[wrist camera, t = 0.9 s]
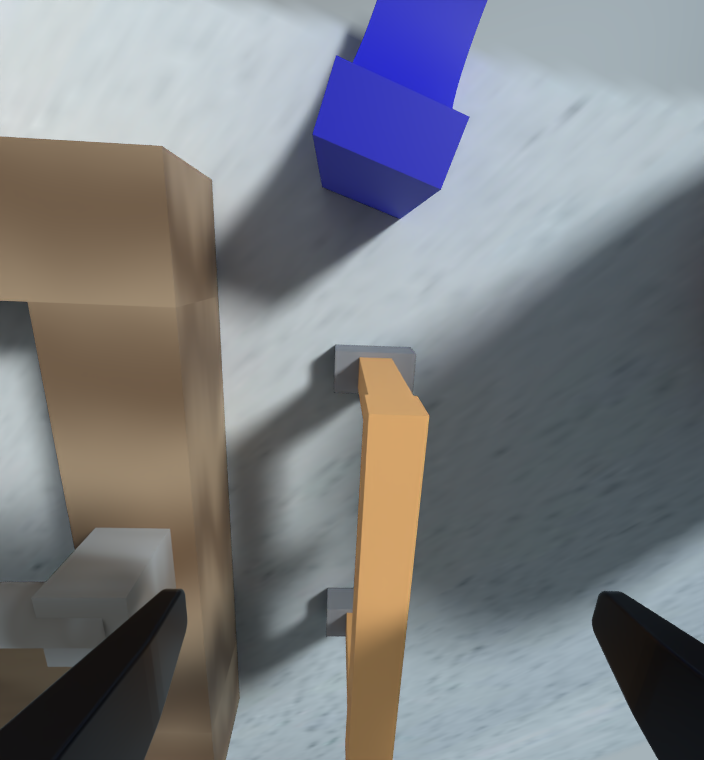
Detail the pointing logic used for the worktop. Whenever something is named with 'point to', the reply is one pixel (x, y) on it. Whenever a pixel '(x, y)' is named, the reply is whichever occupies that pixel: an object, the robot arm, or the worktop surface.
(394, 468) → the orange staple arch
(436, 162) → the cable clip
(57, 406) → the wooden picture frame
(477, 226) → the worktop surface
